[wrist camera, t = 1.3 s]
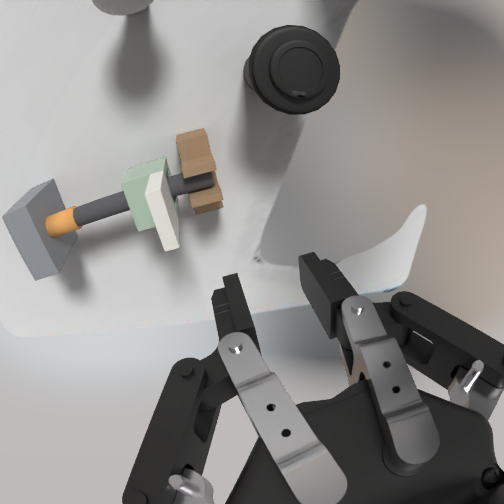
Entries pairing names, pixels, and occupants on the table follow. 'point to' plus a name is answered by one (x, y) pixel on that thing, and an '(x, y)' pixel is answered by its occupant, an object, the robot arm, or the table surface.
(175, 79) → the table surface
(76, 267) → the table surface
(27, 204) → the rod rig
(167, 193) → the white-faced green block
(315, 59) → the coffee cup
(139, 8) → the lightbulb
